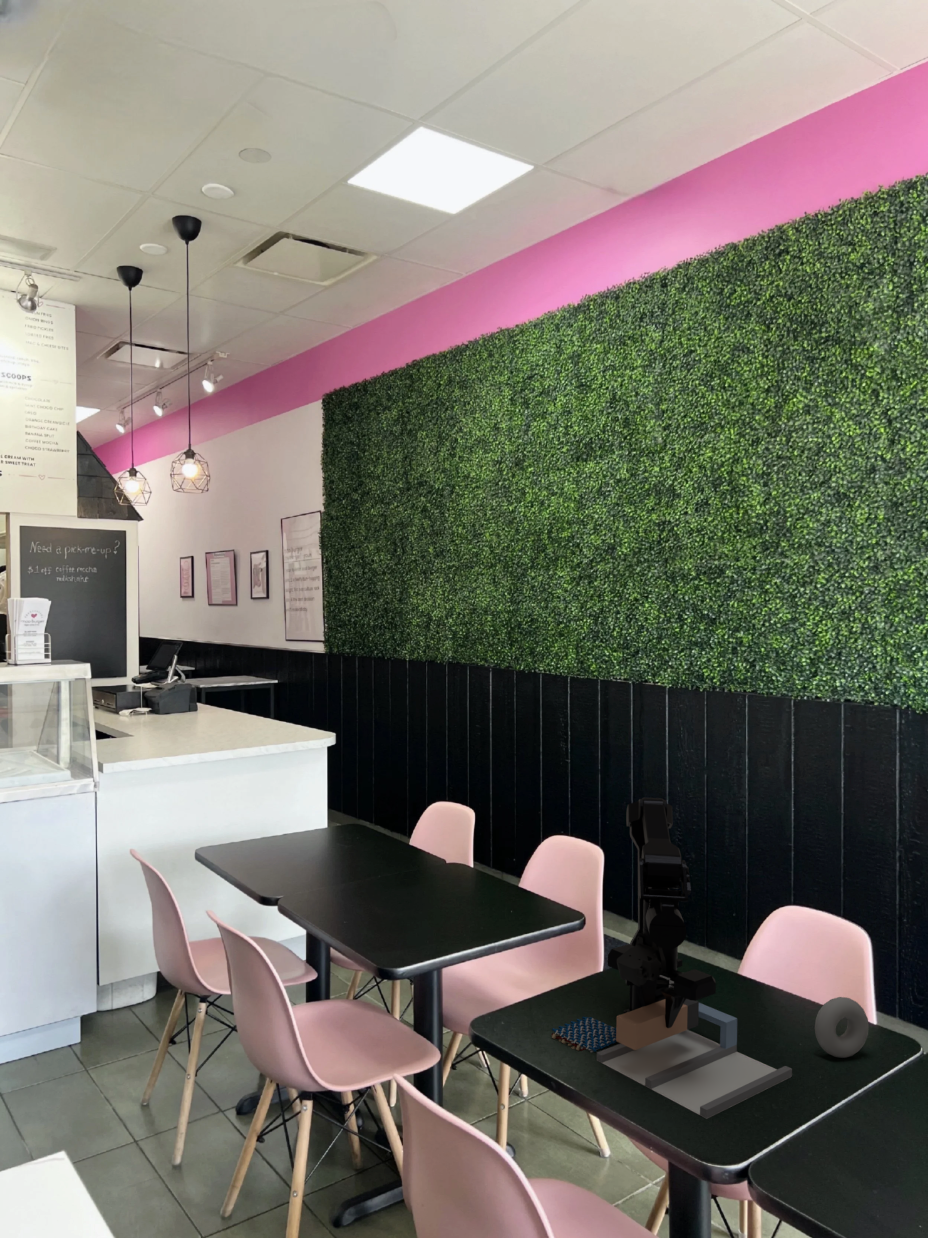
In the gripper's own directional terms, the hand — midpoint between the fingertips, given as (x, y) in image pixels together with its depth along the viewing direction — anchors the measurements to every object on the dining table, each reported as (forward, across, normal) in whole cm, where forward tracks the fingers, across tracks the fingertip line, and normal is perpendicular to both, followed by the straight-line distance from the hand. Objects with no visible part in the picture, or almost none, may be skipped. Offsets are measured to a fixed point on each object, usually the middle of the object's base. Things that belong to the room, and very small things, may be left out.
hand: (658, 1022), depth 148 cm
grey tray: (+7, +5, +2) cm, 9 cm away
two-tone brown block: (+2, 0, 0) cm, 2 cm away
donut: (+7, +16, +28) cm, 34 cm away
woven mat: (+8, -13, -3) cm, 15 cm away
